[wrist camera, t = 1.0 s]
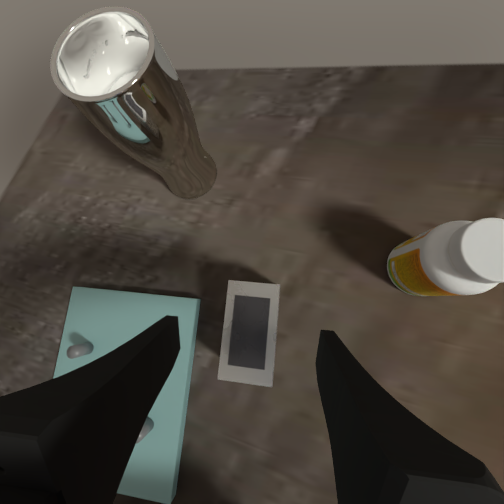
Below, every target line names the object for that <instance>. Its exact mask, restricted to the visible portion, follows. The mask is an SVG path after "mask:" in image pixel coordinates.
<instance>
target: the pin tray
mask: <svg viewBox="0 0 504 504" xmlns="http://www.w3.org/2000/svg"><path fill="white" fill-rule="evenodd" d="M200 302H201V299H196V298H186V297H176V296H166V295H157V294H147V293H137V292H127V291H117V290H107V289H97V288H88V287H75V286H73V289H72V293H71V298H70V303H69V307H68V312H67V317H66V321H65V326H64V331H63V335H62V340H61V345H60V349H59V354H58V359H57V363H56V368H55V373H54V377H53V379H54V378H56V377H59V376H61V375H64V374H66V373H68V372H71V371H73V370H75V369H77V368H79V367H82V366H84V365H86V364H88V363H90V362H92V361H94V360H96V359H98V358H100V357H102V356H104V355H106V354H107V353H109V352H111V351H113V350H114V349H116V348H118V347H119V346H121V345H122V344H124V343H126V342H127V341H129V340H131V339H132V338H134V337H135V336H137V335H138V334H140V333H141V332H143V331H144V330H146V329H147V328H148V327H150V326H151V325H153V324H154V323H156V322H157V321H159V320H160V319H161V318H163V317H165V316H166V315H170V316H178V322H179V335H180V348H181V349H180V351H179V354H178V357H177V359H176V362H175V364H174V367H173V369H172V371H171V373H170V375H169V377H168V379H167V380H166V382H165V384H164V386H163V388H162V390H161V392H160V393H159V395H158V397H157V399H156V401H155V403H154V405H153V406H152V408H151V410H150V412H149V414H148V416H147V418H146V421H145V423H144V425H143V428H142V430H141V432H140V435H139V437H138V439H137V442H136V444H135V447H134V449H133V452H132V454H131V457H130V459H129V462H128V464H127V467H126V469H125V472H124V475H123V477H122V480H121V483H120V485H119V488H118V490H117V493H119V494H123V495H128V496H132V497H137V498H141V499H146V500H150V501H155V502H160V503H164V504H171V503H172V501H173V499H174V497H175V495H176V490H177V482H178V474H179V466H180V459H181V451H182V443H183V435H184V427H185V419H186V412H187V404H188V396H189V388H190V380H191V372H192V365H193V357H194V349H195V341H196V333H197V326H198V318H199V310H200Z"/></svg>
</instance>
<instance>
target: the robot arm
mask: <svg viewBox="0 0 504 504" xmlns="http://www.w3.org/2000/svg"><path fill="white" fill-rule="evenodd" d="M180 349H181V348H180V335H179V322H178V316H170V315H166V316H165V317H163V318H161V319H160V320H159V321H157V322H156V323H154V324H153V325H151V326H150V327H148V328H147V329H146V330H144V331H143V332H141V333H140V334H138V335H137V336H135V337H134V338H132V339H131V340H129V341H127V342H126V343H124V344H122V345H121V346H119V347H118V348H116V349H114V350H113V351H111V352H109V353H107V354H106V355H104V356H102V357H100V358H98V359H96V360H94V361H92V362H90V363H88V364H86V365H84V366H82V367H79V368H77V369H75V370H73V371H71V372H68V373H66V374H64V375H61V376H59V377H56V378H54V379H51V380H49V381H46V382H43V383H41V384H38V385H35V386H32V387H30V388H27V389H23V390H20V391H17V392H14V393H11V394H8V395H5V396H1V397H0V504H113V501H114V499H115V496H116V493H117V490H118V488H119V485H120V483H121V480H122V477H123V475H124V472H125V469H126V467H127V464H128V462H129V459H130V457H131V454H132V452H133V449H134V447H135V444H136V442H137V439H138V437H139V435H140V432H141V430H142V428H143V425H144V423H145V421H146V418H147V416H148V414H149V412H150V410H151V408H152V406H153V405H154V403H155V401H156V399H157V397H158V395H159V393H160V392H161V390H162V388H163V386H164V384H165V382H166V380H167V379H168V377H169V375H170V373H171V371H172V369H173V367H174V364H175V362H176V359H177V357H178V354H179V351H180ZM316 372H317V381H318V387H319V392H320V396H321V401H322V405H323V410H324V414H325V419H326V423H327V428H328V432H329V438H330V443H331V450H332V458H333V465H334V473H335V482H336V490H337V499H338V504H504V492H503V490H502V489H501V487H500V486H499V484H498V483H497V481H496V480H495V478H494V477H493V475H492V474H491V473H490V471H489V470H488V468H487V467H486V466H485V464H484V463H483V462H481V461H480V460H478V459H477V458H475V457H474V456H472V455H470V454H469V453H467V452H466V451H464V450H463V449H461V448H460V447H458V446H456V445H455V444H453V443H452V442H450V441H449V440H447V439H446V438H444V437H443V436H442V435H440V434H439V433H437V432H436V431H435V430H433V429H432V428H430V427H429V426H428V425H426V424H425V423H424V422H422V421H421V420H420V419H418V418H417V417H416V416H415V415H413V414H412V413H411V412H410V411H409V410H407V409H406V408H405V407H404V406H402V405H401V404H400V403H399V402H398V401H397V400H395V399H394V398H393V397H392V396H391V395H390V394H389V393H388V392H387V391H386V390H385V389H383V388H382V387H381V386H380V385H379V384H378V383H377V382H376V381H375V380H374V379H373V378H372V377H371V376H370V374H369V373H368V372H367V371H366V370H365V369H364V368H363V367H362V366H361V364H360V363H359V362H358V361H357V360H356V359H355V357H354V356H353V355H352V354H351V353H350V351H349V350H348V349H347V347H346V346H345V345H344V344H343V342H342V341H341V340H340V338H339V337H338V336H337V334H336V333H335V332H334V331H329V330H321V332H320V338H319V345H318V351H317V357H316Z"/></svg>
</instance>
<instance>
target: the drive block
mask: <svg viewBox="0 0 504 504" xmlns="http://www.w3.org/2000/svg"><path fill="white" fill-rule="evenodd" d="M279 300H280V285H278V284H267V283H256V282H245V281H234V280H229V281H228V290H227V299H226V308H225V317H224V326H223V335H222V344H221V353H220V362H219V371H218V379H219V380H226V381H233V382H240V383H246V384H253V385H260V386H267V387H272V384H273V376H274V366H275V353H276V339H277V326H278V313H279Z"/></svg>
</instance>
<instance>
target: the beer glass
mask: <svg viewBox="0 0 504 504" xmlns="http://www.w3.org/2000/svg"><path fill="white" fill-rule="evenodd" d="M50 67H51V74H52V78H53V80H54V82H55V84H56V86H57V87H58V88H59V89H60V91H61V92H63V93H64V94H65V95H66V96H67V97H68V98H69V99H70V100H71V101H72V102H73V103H74V104H75V106H76V107H77V108H78V109H79V110H80V111H81V112H82V113H83V114H84V115H85V116H86V117H87V119H88V120H89V121H90V122H91V123H92V124H93V125H94V126H95V127H96V128H97V129H98V130H99V131H100V132H101V133H102V134H103V135H104V136H105V137H106V138H108V139H109V140H110V141H111V142H112V143H113V144H115V145H116V146H117V147H118V148H119V149H121V150H122V151H123V152H125V153H126V154H128V155H129V156H131V157H132V158H133V159H135V160H137V161H138V162H140V163H142V164H143V165H145V166H147V167H148V168H150V169H152V170H153V171H155V172H157V173H158V174H159V175H161V176H162V177H163V179H164V180H165V182H166V184H167V186H168V187H169V189H170V190H171V191H172V192H173V193H174V194H175V195H177V196H178V197H181V198H185V199H194V198H198V197H200V196H202V195H204V194H205V193H207V192H208V191H209V190H210V189H211V188H212V186H213V184H214V182H215V180H216V176H217V168H216V164H215V162H214V160H213V159H212V157H211V156H210V155H209V154H208V153H207V152H206V151H205V150H204V148H203V147H202V145H201V142H200V138H199V134H198V130H197V126H196V122H195V118H194V114H193V111H192V108H191V105H190V102H189V99H188V96H187V94H186V92H185V89H184V87H183V85H182V83H181V81H180V79H179V77H178V75H177V73H176V71H175V69H174V67H173V65H172V64H171V62H170V60H169V58H168V56H167V55H166V53H165V51H164V49H163V48H162V46H161V44H160V43H159V41H158V39H157V38H156V36H155V34H154V32H153V30H152V28H151V26H150V24H149V22H148V21H147V20H146V19H145V17H143V16H142V15H141V14H140V13H138V12H136V11H135V10H132V9H129V8H126V7H120V6H110V7H103V8H99V9H96V10H93V11H91V12H89V13H86V14H84V15H83V16H81V17H80V18H78V19H77V20H75V21H74V22H73V23H72V24H71V25H69V26H68V27H67V28H66V30H65V31H64V32H63V33H62V35H61V36H60V37H59V39H58V40H57V43H56V44H55V47H54V49H53V52H52V56H51V63H50Z"/></svg>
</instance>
